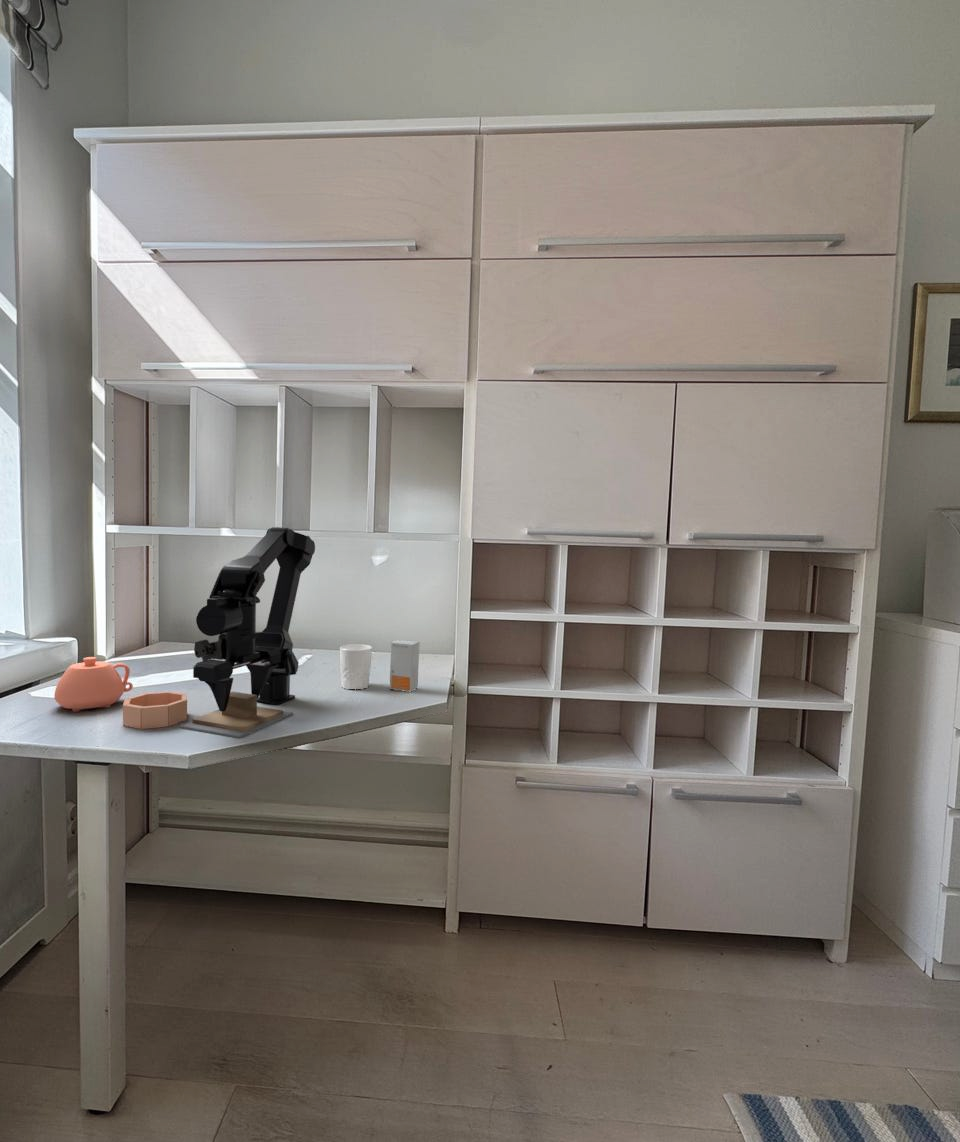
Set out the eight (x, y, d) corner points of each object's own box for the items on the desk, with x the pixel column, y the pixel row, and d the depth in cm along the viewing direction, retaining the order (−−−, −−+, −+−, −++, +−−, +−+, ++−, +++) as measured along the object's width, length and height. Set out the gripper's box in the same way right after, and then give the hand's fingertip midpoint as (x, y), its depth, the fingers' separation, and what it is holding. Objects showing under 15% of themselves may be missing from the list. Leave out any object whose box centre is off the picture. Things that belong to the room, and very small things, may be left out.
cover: (236, 706, 125) (236, 684, 125) (283, 714, 122) (283, 691, 121) (192, 723, 114) (192, 698, 114) (242, 731, 110) (243, 706, 110)
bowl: (157, 708, 124) (158, 689, 124) (199, 715, 120) (199, 695, 120) (110, 723, 113) (110, 702, 113) (154, 731, 110) (154, 710, 110)
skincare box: (388, 690, 145) (390, 642, 144) (396, 686, 149) (397, 639, 148) (411, 693, 143) (413, 644, 142) (418, 688, 147) (420, 641, 146)
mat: (238, 705, 128) (238, 703, 128) (293, 714, 123) (293, 712, 123) (179, 727, 113) (179, 725, 112) (239, 738, 108) (239, 736, 108)
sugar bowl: (51, 702, 125) (51, 655, 124) (127, 693, 134) (127, 649, 133) (57, 718, 116) (56, 666, 115) (138, 706, 125) (138, 659, 124)
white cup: (373, 683, 151) (374, 644, 150) (368, 691, 143) (369, 650, 143) (342, 682, 151) (343, 643, 150) (335, 690, 143) (336, 649, 142)
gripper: (240, 618, 128) (239, 689, 129) (170, 631, 110) (169, 712, 111) (283, 622, 125) (281, 695, 126) (218, 636, 107) (217, 720, 108)
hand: (239, 704), depth 118 cm, fingers open, 9 cm apart
